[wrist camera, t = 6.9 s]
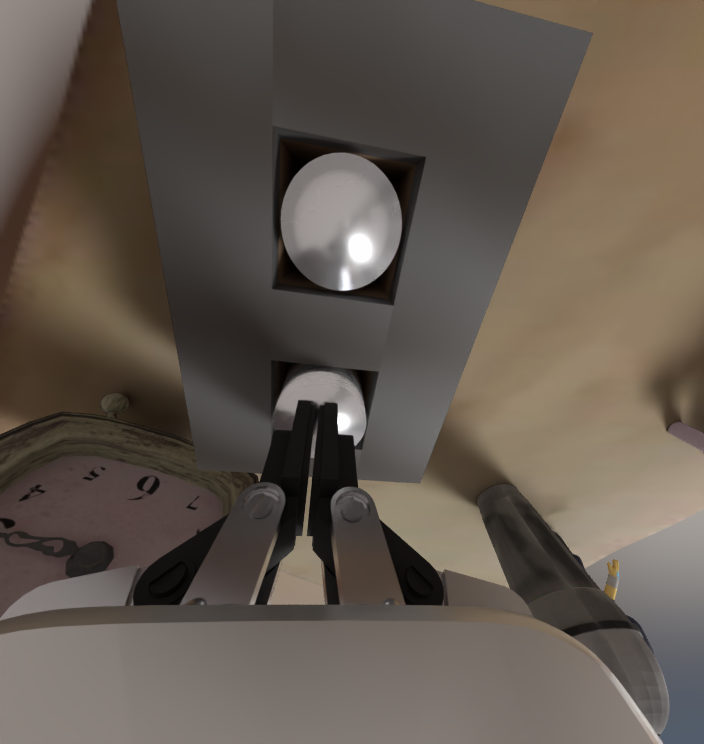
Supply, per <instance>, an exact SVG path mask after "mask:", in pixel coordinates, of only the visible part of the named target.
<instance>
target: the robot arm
mask: <svg viewBox="0 0 704 744" xmlns="http://www.w3.org/2000/svg"><path fill="white" fill-rule="evenodd" d="M315 408H316V405H312V404H311V401H305V400H298V403H297V408H296V413H295V417H294V422H293V427H292V431H290V430H275V432H274V436H273V439H272V442H271V446H270V449H269V452H268V456H267V459H266V462H265V465H264V469H263V472H262V475H261V479H260V482H259V483H256V484H254V485H252V486H249V487H248V488H246V489H245V490H244V491H243V492H242V493H241V494H240V496H239V497H238V499H237V500H236V502H235V504H234V506H233V508H232V510H231V511H230V513H229V514H227V515H226V516H224V517H223V518H221V519H220V520H218V521H216V522H215V523H213V524H212V525H210V526H209V527H207V528H206V529H204V530H202V531H201V532H199V533H198V534H196V535H195V536H193V537H192V538H190V539H188V540H187V541H185V542H184V543H182V544H181V545H179V546H178V547H176V548H174V549H173V550H171V551H170V552H168V553H167V554H165V555H163V556H162V557H160V558H159V559H158V560H156V561H155V562H154V563H153V564H151V565H150V566H146V567H141V568H140V566H139V564H137V565H132V566H128V567H123V568H118V569H113V570H108V571H103V572H98V573H93V574H89V575H84V576H79V577H74V578H69V579H64V580H59V581H55V582H51V583H48V584H45V585H42V586H39V587H37V588H35V589H34V590H32V591H30V592H28V593H27V594H25V595H23V596H22V597H21V598H20V599H19V600H17V601H16V602H15V603H14V604H13V605H11V606H10V607H9V608H8V609H7V611H6V612H5V613H4V614H3V615H2V617H1V618H0V744H663V742H662V741H661V739H660V738H659V736H658V735H657V733H656V732H655V730H654V729H653V727H652V726H651V724H650V723H649V722H648V720H647V719H646V717H645V716H644V715H643V713H642V712H641V710H640V709H639V708H638V706H637V705H636V703H635V702H634V701H633V699H632V698H631V696H630V695H629V693H628V692H627V691H626V690H625V688H624V687H623V686H622V684H621V683H620V682H619V680H618V679H617V678H616V677H615V676H614V674H613V673H612V672H611V671H610V670H609V668H608V667H607V666H606V665H605V664H604V663H603V662H602V661H601V660H600V659H599V658H598V657H597V656H596V655H595V654H594V653H593V652H592V651H591V650H589V649H588V648H587V647H586V646H585V645H583V644H582V643H580V642H579V641H577V640H576V639H574V638H573V637H571V636H569V635H568V634H566V633H565V632H563V631H561V630H559V629H557V628H555V627H553V626H551V625H549V624H547V623H545V622H543V621H540V620H538V619H535V618H534V617H533V615H532V613H531V611H530V609H529V607H528V605H527V604H526V603H525V602H524V600H523V599H522V598H521V597H520V596H519V595H518V594H517V593H515V592H514V591H513V590H511V589H509V588H507V587H505V586H501V585H498V584H494V583H491V582H487V581H484V580H480V579H477V578H473V577H470V576H466V575H463V574H459V573H456V572H452V571H448V570H444V571H443V572H440V571H436V570H435V569H434V568H433V567H432V566H431V564H430V563H429V562H427V561H426V560H425V559H424V558H423V557H422V556H421V555H419V554H418V553H417V552H416V551H415V550H414V549H413V548H412V547H410V546H409V545H408V544H407V543H406V542H405V541H404V540H402V539H401V538H400V537H399V536H398V535H397V534H396V533H395V532H393V531H392V530H391V529H390V528H389V527H388V526H387V525H385V524H384V523H383V522H382V521H381V520H380V519H379V516H378V513H377V510H376V507H375V503H374V501H373V499H372V498H371V496H370V495H369V494H368V493H367V492H365V491H364V490H362V489H360V488H358V481H357V469H356V458H355V447H354V437H353V435H343V434H338V403H328V402H325V406H323V405H320V408H319V417H318V427H317V436H316V445H315V454H314V465H313V476H312V486H311V497H310V508H309V519H308V530H307V536H313V540H312V546H313V551H314V552H315V553H316V554H317V555H318V557H319V558H320V559H321V569H322V580H323V591H324V601H325V605H270V602H271V599H272V595H273V592H274V589H275V585H276V582H277V579H278V575H279V572H280V569H281V565H282V560H283V558H284V557H286V556H287V555H288V554H289V553H290V552H291V551H292V550H293V549H294V546H295V540H296V536H302V531H303V522H304V513H305V504H306V494H307V485H308V476H309V467H310V457H311V448H312V438H313V428H314V418H315Z"/></svg>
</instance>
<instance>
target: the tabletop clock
mask: <svg viewBox="0 0 704 744" xmlns="http://www.w3.org/2000/svg"><path fill="white" fill-rule="evenodd" d="M128 405H129V402H128V398H127V397H126V396H125V395H123V394H120V393H112V394H109V395H106V396H105V397H103V398H102V400H101V401H100V407H101V410H102V411H103V412H104V413H106V414H108V415H107V417H106V416H100V415H94V414H84V413H71V412H60V413H56V414H53V415H50V416H47V417H44V418H40V419H37V420H34V421H31V422H28V423H25V424H23V425H21V426H19V427H16V428H14V429H12V430H9V431H7V432H5V433H3V434H1V435H0V618H1V617H2V615H3V614H4V613H5V612H6V611H7V609H8V608H9V607H10V606H11V605H13V604H14V603H15V602H16V601H17V600H19V599H20V598H21V597H22V596H23V595H25V594H27V593H28V592H30V591H32V590H34V589H35V588H37V587H39V586H42V585H45V584H48V583H51V582H55V581H59V580H64V579H69V578H74V577H79V576H84V575H89V574H93V573H98V572H103V571H108V570H113V569H118V568H123V567H128V566H132V565H137V564H139V566H140V568H141V567H146V566H150V565H151V564H153V563H154V562H155V561H156V560H158V559H159V558H160V557H162V556H163V555H165V554H167V553H168V552H170V551H171V550H173V549H174V548H176V547H178V546H179V545H181V544H182V543H184V542H185V541H187V540H188V539H190V538H192V537H193V536H195V535H196V534H198V533H199V532H201V531H202V530H204V529H206V528H207V527H209V526H210V525H212V524H213V523H215V522H216V521H218V520H220V519H221V518H223V517H224V516H226V515H227V514H229V513H230V511H231V510H232V508H233V506H234V504H235V502H236V500H237V499H238V497H239V496H240V494H241V493H242V492H243V491H244V490H245V489H246V488H248V487H249V486H252V485H254V484H256V483H259V481H258V476H257V475H256V474H254V473H245V472H229V471H213V470H198V468H197V463H196V457H195V451H194V445H193V442H191V441H188V440H186V439H183V438H181V437H178V436H175V435H172V434H168V433H165V432H161V431H158V430H154V429H151V428H147V427H144V426H140V425H137V424H133V423H130V422H126V421H122V420H119V419H117V414H120V413H122V412H124V411H125V410H126V409H127V408H128Z"/></svg>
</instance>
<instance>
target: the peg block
mask: <svg viewBox="0 0 704 744" xmlns="http://www.w3.org/2000/svg"><path fill="white" fill-rule="evenodd" d="M116 2H117V8H118V14H119V19H120V25H121V31H122V37H123V42H124V48H125V54H126V60H127V65H128V71H129V77H130V83H131V88H132V94H133V100H134V106H135V111H136V117H137V123H138V129H139V134H140V140H141V146H142V152H143V158H144V163H145V169H146V175H147V181H148V186H149V192H150V198H151V204H152V209H153V215H154V221H155V227H156V232H157V238H158V244H159V250H160V255H161V261H162V267H163V273H164V278H165V284H166V290H167V296H168V301H169V307H170V313H171V319H172V325H173V330H174V336H175V342H176V348H177V353H178V359H179V365H180V371H181V376H182V382H183V388H184V394H185V399H186V405H187V411H188V417H189V422H190V428H191V434H192V440H193V445H194V451H195V457H196V463H197V468H198V470H213V471H229V472H245V473H261V474H262V472H263V469H264V465H265V462H266V459H267V456H268V452H269V449H270V446H271V442H272V439H273V436H274V432H275V431H274V427H273V414H274V411H275V408H276V405H277V402H278V399H279V396H280V393H281V390H282V387H283V385H284V382H285V379H286V376H287V373H288V370H289V367H290V364H291V362H293V363H303V364H312V365H321V366H331V367H340V368H349V369H358V370H359V374H360V381H361V387H362V394H363V401H364V407H365V414H366V429H365V433H364V435H363V437H362V438H361V440H360V441H359V442H358V444H357V445H356V446H354V447H355V458H356V469H357V479H358V480H374V481H390V482H407V483H420V482H421V479H422V477H423V474H424V471H425V469H426V466H427V464H428V461H429V458H430V456H431V453H432V451H433V448H434V445H435V443H436V440H437V438H438V435H439V432H440V430H441V427H442V425H443V422H444V419H445V417H446V414H447V412H448V409H449V406H450V404H451V401H452V399H453V396H454V393H455V391H456V388H457V386H458V383H459V380H460V378H461V375H462V373H463V370H464V367H465V365H466V362H467V360H468V357H469V354H470V352H471V349H472V347H473V344H474V341H475V339H476V336H477V334H478V331H479V328H480V326H481V323H482V321H483V318H484V315H485V313H486V310H487V308H488V305H489V302H490V300H491V297H492V295H493V292H494V289H495V287H496V284H497V282H498V279H499V276H500V274H501V271H502V269H503V266H504V263H505V261H506V258H507V256H508V253H509V250H510V248H511V245H512V243H513V240H514V237H515V235H516V232H517V230H518V227H519V224H520V222H521V219H522V217H523V214H524V211H525V209H526V206H527V204H528V201H529V199H530V196H531V193H532V191H533V188H534V186H535V183H536V180H537V178H538V175H539V173H540V170H541V167H542V165H543V162H544V160H545V157H546V154H547V152H548V149H549V147H550V144H551V141H552V139H553V136H554V134H555V131H556V128H557V126H558V123H559V121H560V118H561V115H562V113H563V110H564V108H565V105H566V102H567V100H568V97H569V95H570V92H571V89H572V87H573V84H574V82H575V79H576V76H577V74H578V71H579V69H580V66H581V63H582V61H583V58H584V56H585V53H586V50H587V48H588V45H589V43H590V40H591V37H592V35H593V33H590V32H587V31H583V30H579V29H576V28H572V27H568V26H565V25H561V24H558V23H554V22H550V21H547V20H543V19H539V18H536V17H532V16H528V15H525V14H521V13H517V12H514V11H510V10H507V9H503V8H499V7H496V6H492V5H488V4H485V3H481V2H477V1H474V0H116ZM331 153H350V154H354V155H357V156H360V157H362V158H365V159H367V160H368V161H370V162H371V163H373V164H374V165H376V166H377V167H378V168H379V169H380V170H381V171H382V172H383V173H384V174H385V175H386V177H387V178H388V179H389V181H390V183H391V184H392V186H393V188H394V190H395V192H396V194H397V197H398V200H399V204H400V209H401V216H402V231H401V238H400V242H399V246H398V249H397V251H396V254H395V256H394V258H393V259H392V261H391V263H390V264H389V266H388V267H387V269H386V270H385V271H384V272H383V273H382V274H381V275H380V276H379V277H378V278H377V279H375V280H374V281H372V282H371V283H369V284H367V285H365V286H363V287H360V288H357V289H353V290H346V291H339V290H332V289H327V288H324V287H322V286H319V285H317V284H315V283H314V282H312V281H311V280H309V279H308V278H307V277H306V276H304V275H303V274H302V273H301V272H300V271H299V269H298V268H297V267H296V266H295V264H294V263H293V262H292V260H291V258H290V256H289V254H288V252H287V250H286V247H285V244H284V241H283V237H282V231H281V209H282V204H283V200H284V197H285V194H286V191H287V189H288V187H289V185H290V183H291V181H292V180H293V178H294V177H295V175H296V174H297V173H298V172H299V171H300V170H301V169H302V168H303V167H304V166H305V165H306V164H308V163H309V162H311V161H312V160H314V159H316V158H318V157H320V156H323V155H326V154H331ZM313 465H314V458H310V467H309V476H310V477H312V476H313Z"/></svg>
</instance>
